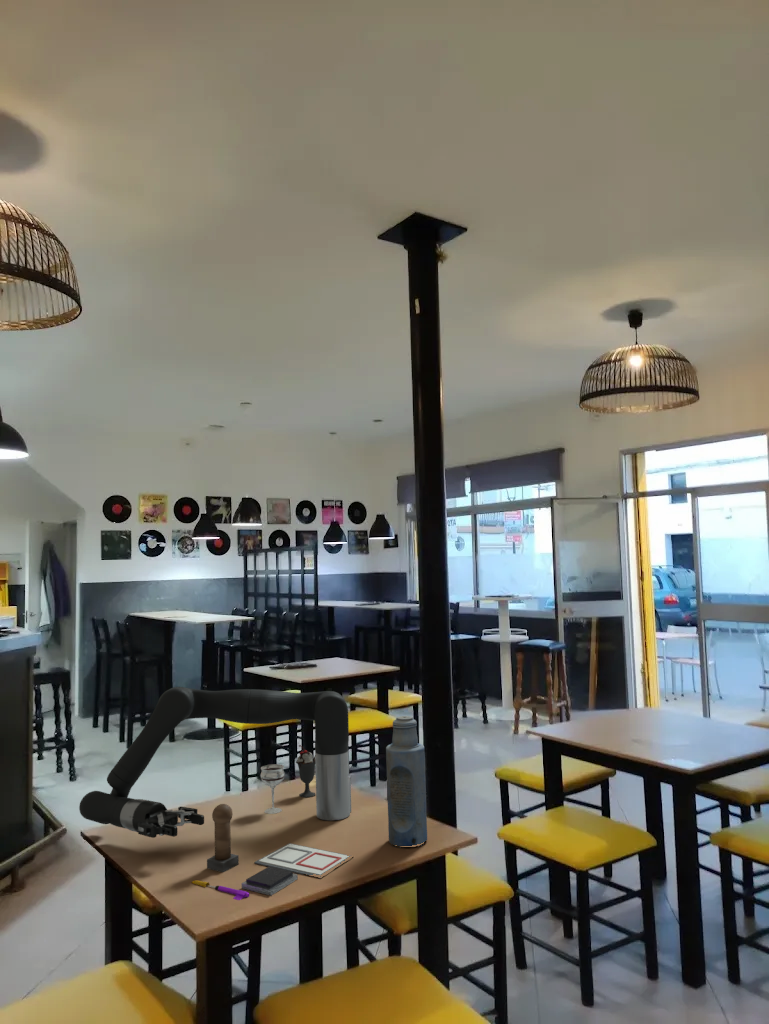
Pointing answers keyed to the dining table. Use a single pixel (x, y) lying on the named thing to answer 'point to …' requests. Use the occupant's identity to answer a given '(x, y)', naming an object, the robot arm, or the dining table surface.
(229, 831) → the stamp
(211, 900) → the dining table surface
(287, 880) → the ink pad
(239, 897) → the marker pen
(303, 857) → the print sheet
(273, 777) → the wineglass
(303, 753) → the sundae
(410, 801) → the bottle
